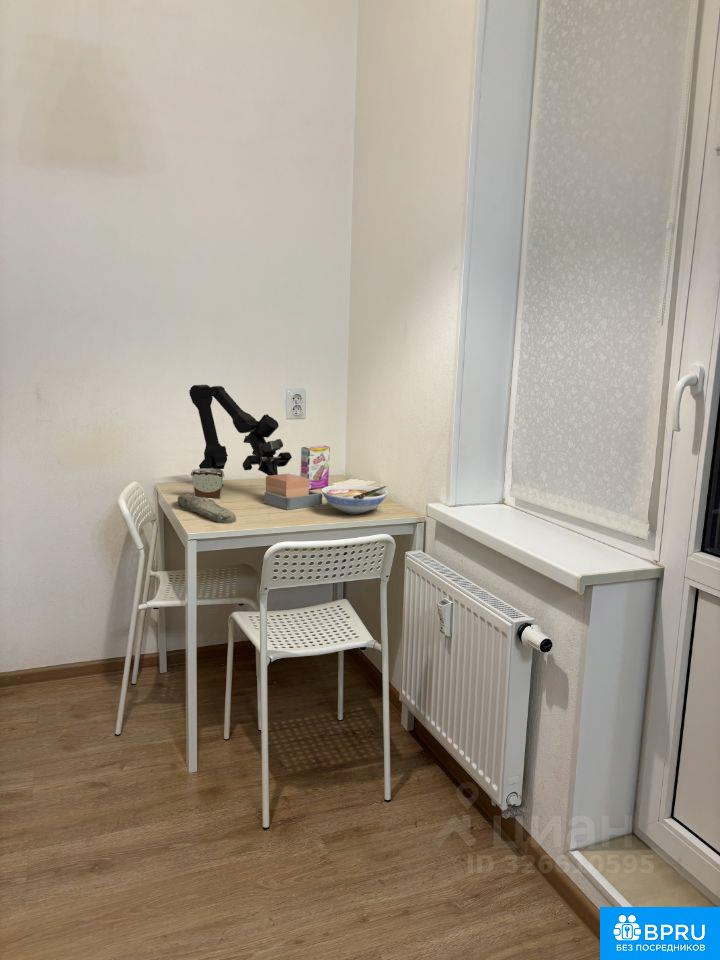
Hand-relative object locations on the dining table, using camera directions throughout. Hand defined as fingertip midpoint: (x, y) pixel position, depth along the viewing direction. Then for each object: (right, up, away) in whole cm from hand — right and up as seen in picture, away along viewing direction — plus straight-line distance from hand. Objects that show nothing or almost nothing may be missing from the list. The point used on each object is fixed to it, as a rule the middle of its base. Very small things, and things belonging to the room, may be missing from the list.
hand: (276, 479), depth 281 cm
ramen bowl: (+28, -11, -15) cm, 33 cm away
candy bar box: (+12, -3, +24) cm, 27 cm away
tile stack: (+4, -8, -3) cm, 10 cm away
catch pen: (+6, -9, -6) cm, 12 cm away
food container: (-24, -6, +1) cm, 25 cm away
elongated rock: (-21, -11, -23) cm, 33 cm away
